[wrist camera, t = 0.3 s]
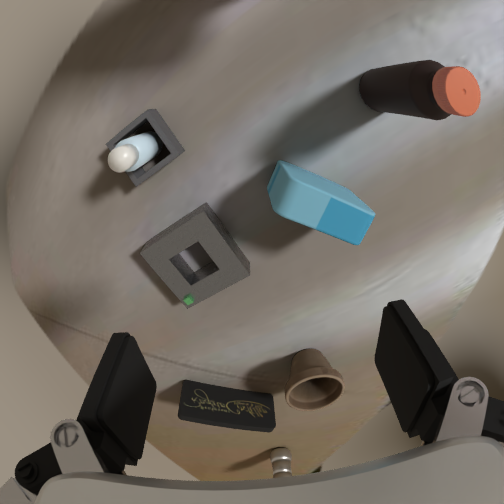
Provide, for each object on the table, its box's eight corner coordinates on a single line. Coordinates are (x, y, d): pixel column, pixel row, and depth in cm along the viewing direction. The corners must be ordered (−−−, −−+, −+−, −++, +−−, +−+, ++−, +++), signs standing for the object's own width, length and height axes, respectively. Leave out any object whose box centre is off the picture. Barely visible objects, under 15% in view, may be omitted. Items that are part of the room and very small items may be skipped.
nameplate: (182, 383, 64) (177, 418, 55) (183, 378, 63) (178, 414, 54) (270, 398, 67) (273, 432, 58) (272, 393, 66) (276, 428, 57)
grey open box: (116, 140, 40) (105, 144, 36) (155, 108, 38) (147, 109, 34) (144, 179, 43) (136, 186, 39) (185, 150, 41) (179, 154, 38)
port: (146, 241, 47) (138, 255, 43) (206, 202, 45) (202, 212, 41) (190, 294, 52) (186, 310, 48) (249, 262, 50) (250, 277, 46)
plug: (131, 142, 40) (96, 157, 29) (152, 125, 39) (122, 134, 28) (146, 163, 42) (116, 184, 31) (168, 147, 41) (142, 163, 30)
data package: (265, 185, 44) (273, 214, 33) (277, 157, 42) (289, 177, 31) (336, 214, 46) (362, 249, 36) (348, 188, 44) (380, 217, 34)
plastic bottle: (289, 452, 83) (295, 505, 65) (268, 453, 82) (272, 506, 65) (292, 444, 80) (298, 500, 62) (270, 445, 79) (274, 502, 62)
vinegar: (401, 111, 39) (489, 127, 21) (361, 113, 39) (440, 126, 21) (395, 68, 35) (482, 61, 18) (354, 69, 36) (431, 53, 18)
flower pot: (299, 331, 57) (307, 370, 48) (344, 346, 60) (357, 382, 51) (270, 367, 62) (274, 405, 53) (314, 379, 64) (321, 414, 55)
